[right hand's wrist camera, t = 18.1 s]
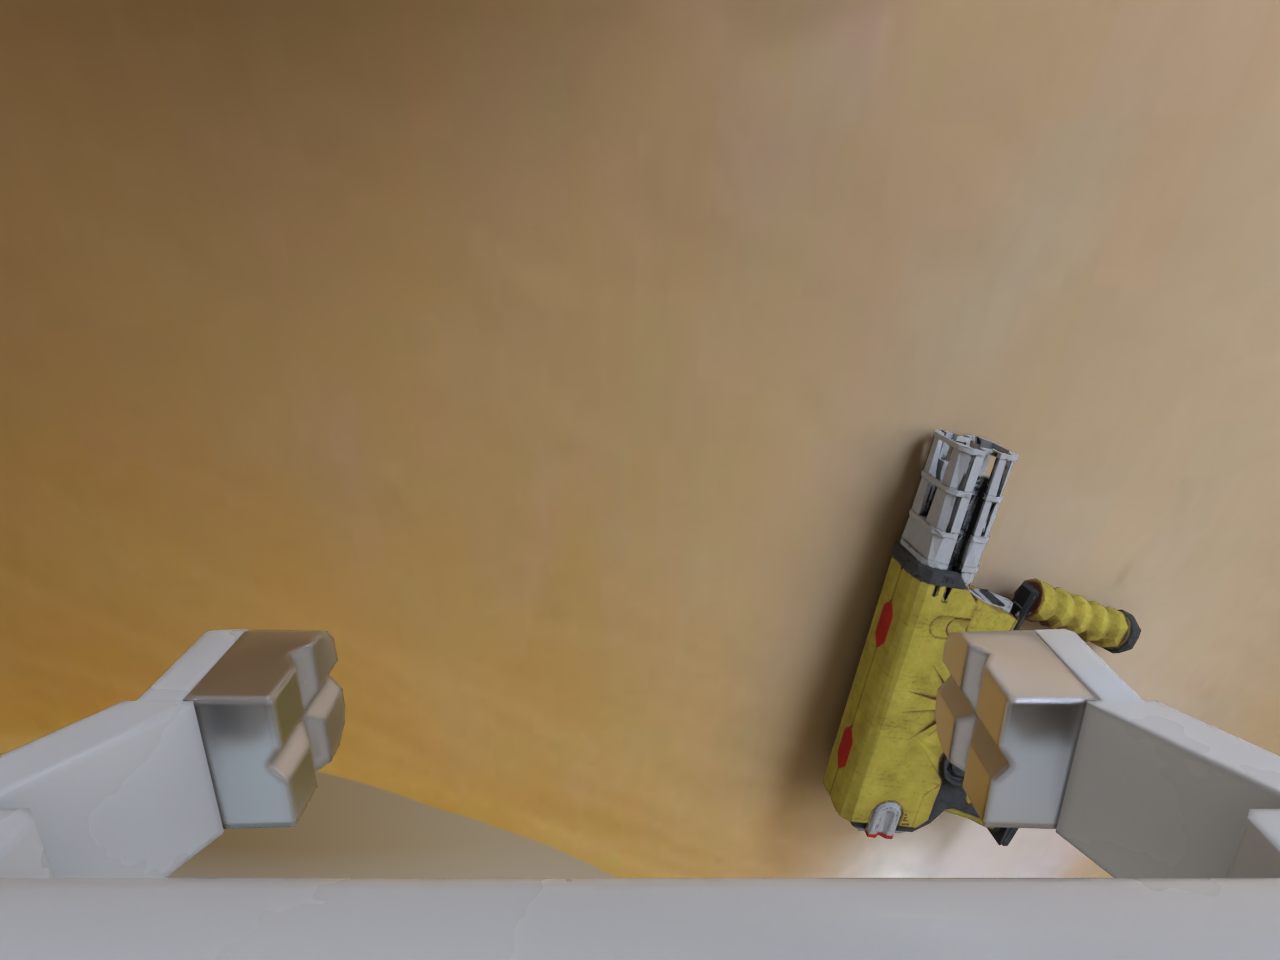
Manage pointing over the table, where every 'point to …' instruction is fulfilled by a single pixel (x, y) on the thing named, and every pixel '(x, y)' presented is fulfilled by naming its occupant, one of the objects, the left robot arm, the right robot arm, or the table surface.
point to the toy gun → (938, 645)
